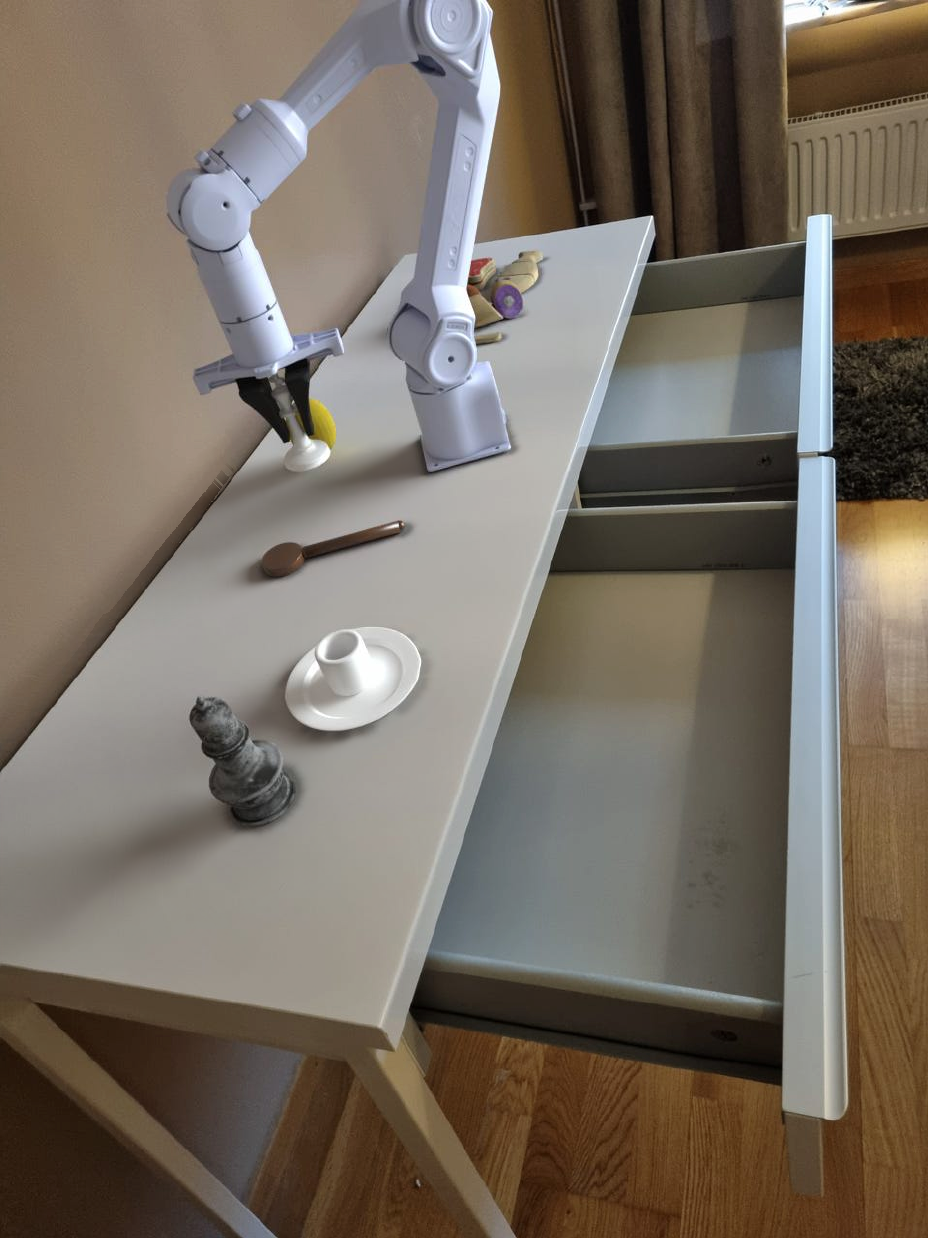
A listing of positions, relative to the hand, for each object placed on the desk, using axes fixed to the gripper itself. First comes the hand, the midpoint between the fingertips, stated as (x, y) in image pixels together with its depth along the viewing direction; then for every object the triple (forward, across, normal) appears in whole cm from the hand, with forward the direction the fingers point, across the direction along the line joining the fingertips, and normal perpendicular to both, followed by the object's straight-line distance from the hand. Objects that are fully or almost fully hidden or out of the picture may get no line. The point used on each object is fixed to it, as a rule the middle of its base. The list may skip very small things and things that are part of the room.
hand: (298, 434), depth 91 cm
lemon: (+10, 0, +11) cm, 15 cm away
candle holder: (+10, +1, -28) cm, 29 cm away
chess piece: (+3, 0, 0) cm, 3 cm away
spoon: (+10, 0, -8) cm, 12 cm away
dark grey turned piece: (+10, -7, -38) cm, 39 cm away
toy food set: (+10, +24, +42) cm, 49 cm away
